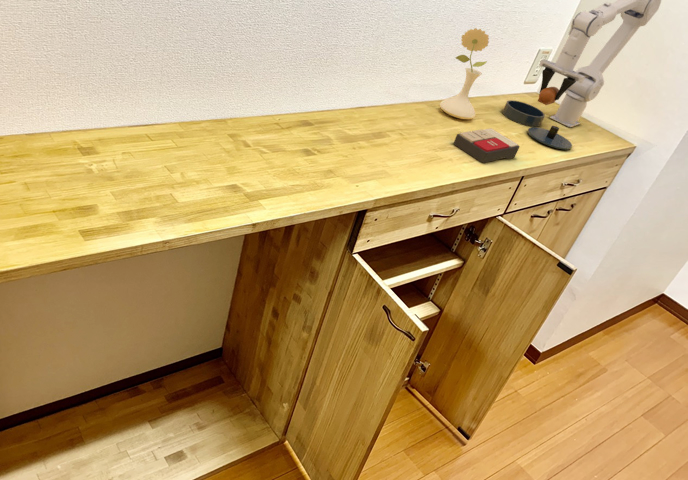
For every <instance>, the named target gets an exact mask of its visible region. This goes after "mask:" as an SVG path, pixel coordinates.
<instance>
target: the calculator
mask: <svg viewBox="0 0 688 480" xmlns="http://www.w3.org/2000/svg"><path fill="white" fill-rule="evenodd" d="M452 144H453V145H454V146H455V147H457V148H458V149H460V150H462V151H463V152H465V153H466V154H467V155H469V156H471V157H473V158H474V159H475V160H477V161H479V162H480V163H482V164H484V163H488V162H493V161H497V160H502V159H506V160H510V159H514V158H516V156H517V153H518V152H519V149H520V145H519V143H517V142H515V141H514V140H512V139H510V138H508V137H506V136H505V135H503V134H501V133H500V132H498V131H496V130H495V129H493V128H484V129H483V128H481V129H475V130H472V131H471V130H470V131H463V132H460V133H457V134H456V136H455V138H454V141H453V143H452Z"/></svg>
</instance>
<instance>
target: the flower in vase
mask: <svg viewBox="0 0 688 480" xmlns="http://www.w3.org/2000/svg"><path fill="white" fill-rule="evenodd" d="M489 36H490V35H489V34H487V33H486V31H485V30H482V28H479V29H478V28H476V27H474V28H473V29H472V28H470V29H468V30H467V31H465V32H464V34H462V35H461V39H460V40H461V46H462V47H463V48H466V50H467V51H470V55H469V56H467V55H466V54H459V55H457V56H456V57H455V59H456V60H457V61H459V62H460V63H467V62H469V64H470V67H466V68H465V74H466V75H465V79H464V84H463V86H462V88H461V90H460V92H458V94H456V95H453V96H450V97H448V98H445V99H443V100H442V101H441V102H439V107H440V109H441V111H443V112H444V113H446V114H447V115H449V116H451V117H454V118H457V119H461V120H472V119H473V118H475V117H476V110H475V108H474V106H473V104H472V102H471V101H470V98H469V93H470V90H471V89H472V86H473V84H474V83H475V81H476V80H477V79H478V78H479V77H480V76H482V74H483V73H482V72H481V71H480V70H477V69H475V68H473V67H477V68H479V67H482V66H484V65H485V64H486V63H487V62H488V60H486V61H477V62H474V63H473V64H472V54H473V52H478V51H480V52H482V51H483V50H484V49H485V48H487V47H488V46H489V43H490V41H489V39H490V38H489Z"/></svg>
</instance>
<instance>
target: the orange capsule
mask: <svg viewBox="0 0 688 480" xmlns="http://www.w3.org/2000/svg"><path fill="white" fill-rule="evenodd" d="M559 89H560V88H558V87H556V86H549V87H548V86H547V88H545V89H543V90H542V91H541V92H540V91H539V92H540V93H539V94H538V99H537V102H538V103H541V104H542V105H545V106H548V105H551V104H555V102H556V101H557V100H555V96H556V95H557V93H558V91H559Z"/></svg>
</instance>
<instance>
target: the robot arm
mask: <svg viewBox="0 0 688 480" xmlns="http://www.w3.org/2000/svg"><path fill="white" fill-rule="evenodd" d="M661 4H662V0H615V1H614V2H608V1H606V2H603V4H601V5H598V6H597V7H595V8H593V9H591V10H589V11H586V10H582V11H580V12H578V13H577V14H576V15H575V16H574V17H573V19H572V21H571V24H570V29H569V30H568V31H569V32H568V37H567V40H566V41H565V42H564V45H563V47H562V49H561V51H560V53H559V55H558V57H557V59H556V61H555V62H553V61H550V60H548V59H545V58H541V59H540V62H539V63H538V66H539V67H543V68H544V69H542V72H541V73H542V75H541V76H542V79H541V86H540V90H539V94H540V92H541V91H542V90H543V89H545V88H548V86H549V83H550V81H551V80H552V78H553V77H554V75H555V74H559V75H562V76H564V78H563V80H562V81H561V85H560V88H558V89H559V91H558V93H557V95H556V96H555V100H556V101H559V99H560V98H561V97H562V96H563V94H565V96H564V97H563V99H562V100H561V103H560V104H559V106H558V108H557V109H556V112H555V114H554V115H551V116H549V119H551V120H553V121H555V122H556V123H558V124H562V125H564V126H565V127H567V128H572V127H575V126H578V125H580V124H581V122H579V121H580V118H581V116H582V115H583V113H584V112H585V110H586V107H587V104H588V102H592V100H595V98H596V97H597V96H598V95H599V93H600V92H601V89H602V88H603V86H604V85H605V78H604V76H603V73H604V72H606V69H607V68H608V67H609V66H610V65H611V64H612V62H613V61H614V60H615V58H616V57H617V56H618V55H619V53H620V52H621V51H622V50H623V49H624V48H625V46H626V45H627V43H628V42H629V41H630V40H631V39H632V37H634V35H635V34H636V33H637V31H638V30H639V29H640V28H641V27H645V26H646V25H647V24H648V23H649V22H650V20H652V18H653V17H654V16H655V14H656V13H657V12H658V11H659V9H660V6H661ZM617 15H620V17H621V19H622V23H621V25H620V26H619V27H618V28H617V30H616V31H615V32H614V33H613V35H612V36H611V37H610V38H609V40H608V41H607V42H606V43H605V44H604V46H603V47H602V48H601V50H600V51H599V52H598V53H597V55H596V56H595V57H594V58H593V60H592V61H591V62H590V64H588V65H587V66H581V67H578V68H577V70H574V69H575V67H576V65H577V64H578V61H579V60H580V57H582V56H581V55H582V54H583V52H584V50H585V48H586V47H587V44H588V42H589V40H590V39H591V37H593V36H595V35H596V34H597V33H598V32H599V30H601V28H602V27H603V26H605V25H607V24H609V23H612V22H613V21H614V20H615V19H616V17H617Z"/></svg>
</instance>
